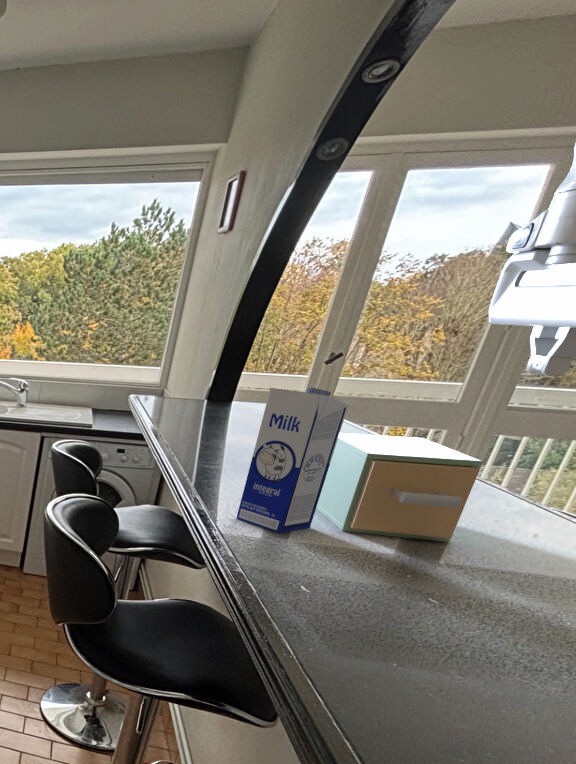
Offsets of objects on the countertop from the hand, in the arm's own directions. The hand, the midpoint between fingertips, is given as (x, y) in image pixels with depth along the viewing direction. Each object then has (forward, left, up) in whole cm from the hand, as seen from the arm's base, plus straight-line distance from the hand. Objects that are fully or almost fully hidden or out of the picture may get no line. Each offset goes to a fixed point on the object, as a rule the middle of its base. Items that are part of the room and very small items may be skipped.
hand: (544, 374), depth 61 cm
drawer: (0, -20, -23) cm, 30 cm away
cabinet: (0, -23, -24) cm, 34 cm away
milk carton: (+15, -16, -24) cm, 33 cm away
